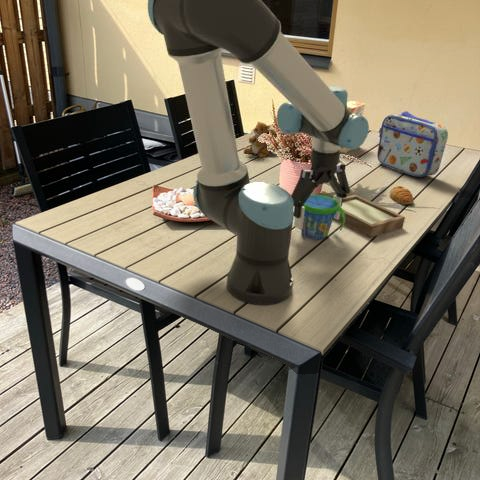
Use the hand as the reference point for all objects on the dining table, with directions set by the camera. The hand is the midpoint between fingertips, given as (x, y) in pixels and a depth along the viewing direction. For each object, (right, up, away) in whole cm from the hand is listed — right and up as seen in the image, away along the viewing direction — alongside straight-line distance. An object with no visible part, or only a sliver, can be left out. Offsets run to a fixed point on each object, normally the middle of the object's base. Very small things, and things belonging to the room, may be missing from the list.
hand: (317, 222), depth 139 cm
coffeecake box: (+25, +36, +83) cm, 94 cm away
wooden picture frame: (+16, +1, +12) cm, 20 cm away
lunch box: (+44, +23, +59) cm, 77 cm away
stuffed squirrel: (-12, +31, +70) cm, 77 cm away
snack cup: (-1, -4, +1) cm, 4 cm away
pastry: (+34, +9, +30) cm, 46 cm away
